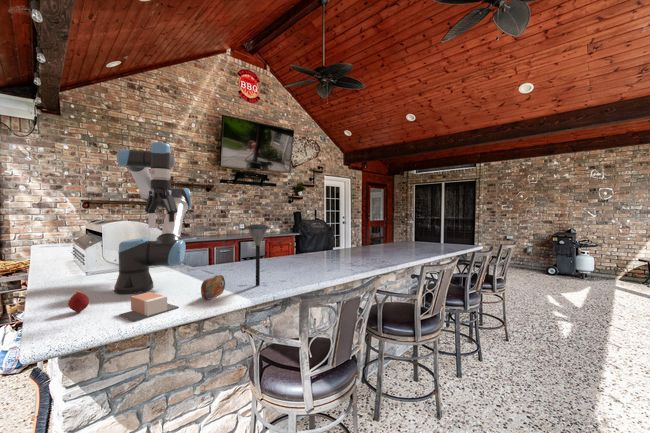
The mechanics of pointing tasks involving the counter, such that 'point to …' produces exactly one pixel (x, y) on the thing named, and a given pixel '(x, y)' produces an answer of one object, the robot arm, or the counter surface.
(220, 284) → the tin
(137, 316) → the mat
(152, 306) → the terracotta block
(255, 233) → the solar garden light
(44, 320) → the counter surface
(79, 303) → the onion
